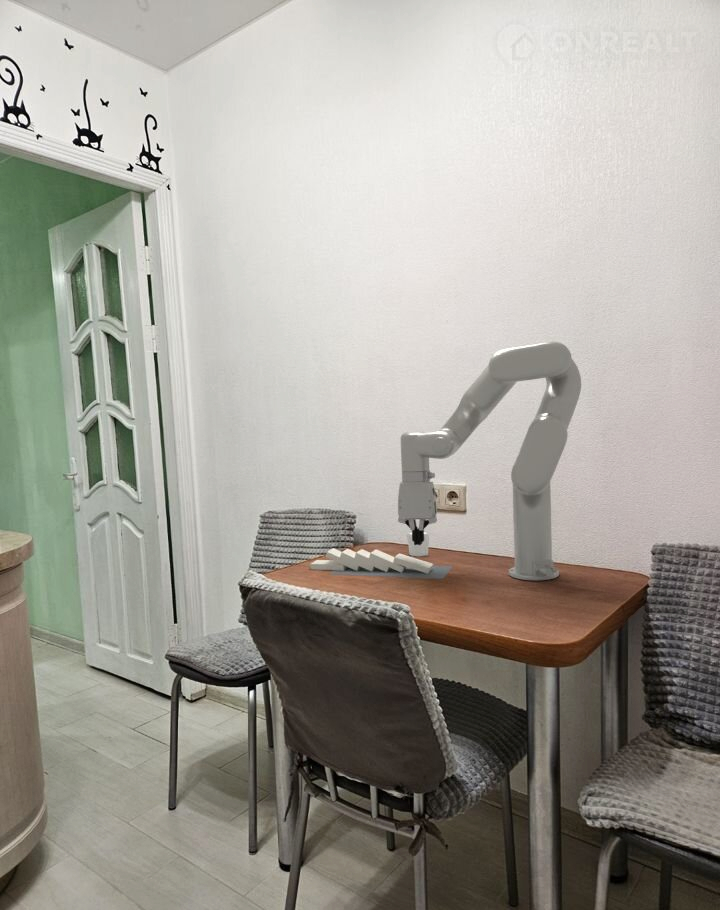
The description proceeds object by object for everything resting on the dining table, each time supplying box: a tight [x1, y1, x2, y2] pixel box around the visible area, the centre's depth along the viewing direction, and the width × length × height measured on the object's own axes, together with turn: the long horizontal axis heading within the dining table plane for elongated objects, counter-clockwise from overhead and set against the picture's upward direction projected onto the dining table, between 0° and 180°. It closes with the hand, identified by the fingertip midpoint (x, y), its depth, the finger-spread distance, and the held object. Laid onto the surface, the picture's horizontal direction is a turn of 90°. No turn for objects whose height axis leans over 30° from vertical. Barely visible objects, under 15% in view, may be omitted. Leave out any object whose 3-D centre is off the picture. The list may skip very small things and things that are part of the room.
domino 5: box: [369, 549, 407, 573], centre depth 180 cm, size 2×5×10 cm
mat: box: [328, 565, 454, 580], centre depth 180 cm, size 32×14×1 cm, turn 71°
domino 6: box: [393, 553, 434, 574], centre depth 178 cm, size 2×5×10 cm
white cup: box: [406, 531, 430, 557], centre depth 199 cm, size 7×7×7 cm
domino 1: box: [309, 559, 348, 571], centre depth 186 cm, size 2×5×10 cm
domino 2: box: [325, 547, 361, 571], centre depth 184 cm, size 2×5×10 cm
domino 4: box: [354, 548, 391, 572], centre depth 181 cm, size 2×5×10 cm
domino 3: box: [340, 548, 376, 571], centre depth 183 cm, size 2×5×10 cm
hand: (418, 544), depth 177 cm, fingers closed
